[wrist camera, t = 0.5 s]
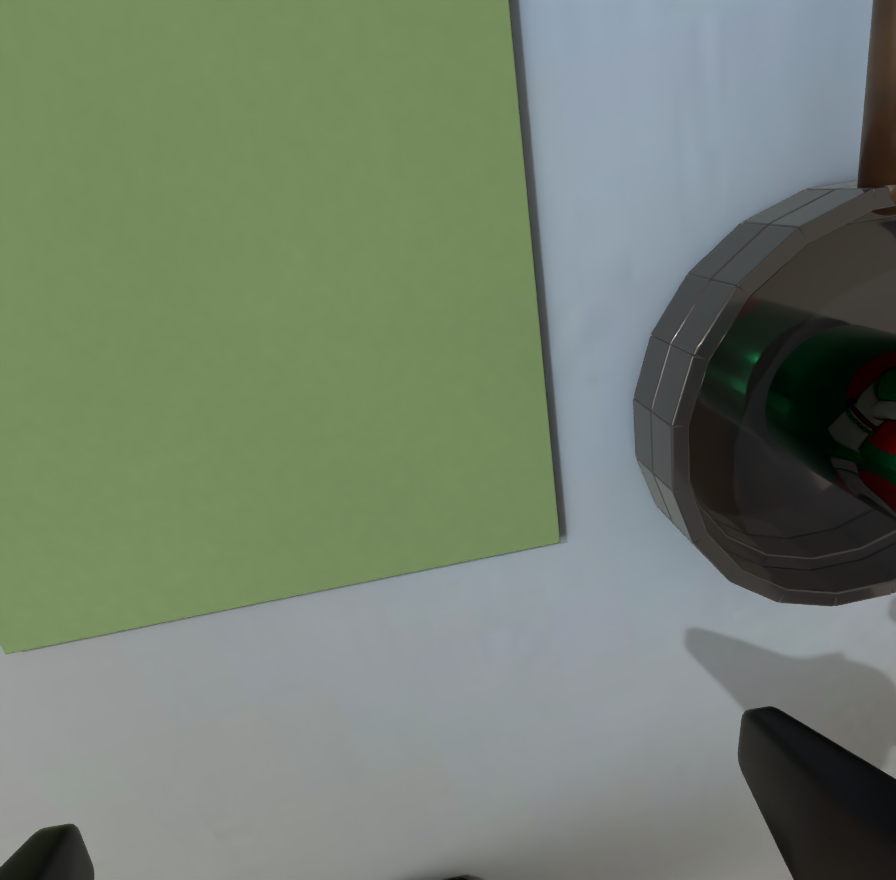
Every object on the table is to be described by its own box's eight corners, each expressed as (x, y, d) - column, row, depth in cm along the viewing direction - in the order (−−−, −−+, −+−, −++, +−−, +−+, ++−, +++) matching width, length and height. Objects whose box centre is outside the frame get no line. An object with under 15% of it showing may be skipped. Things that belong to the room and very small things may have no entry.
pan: (966, 520, 26) (1043, 562, 23) (638, 589, 25) (675, 641, 22) (1032, 149, 21) (1142, 142, 18) (622, 218, 20) (668, 222, 17)
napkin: (558, 538, 24) (560, 542, 24) (9, 649, 23) (5, 654, 22) (494, -128, 17) (496, -133, 16) (-331, -23, 15) (-343, -27, 15)
